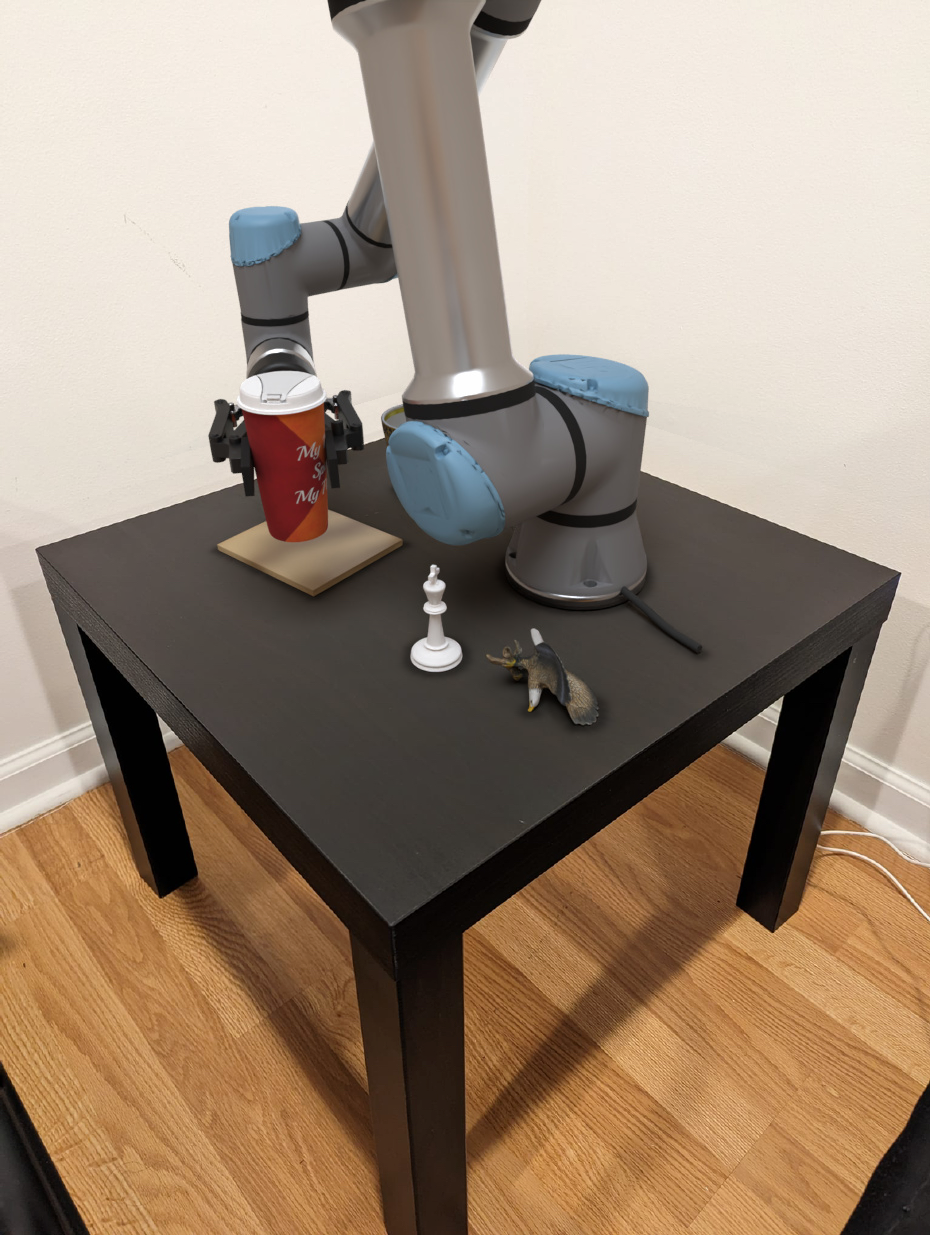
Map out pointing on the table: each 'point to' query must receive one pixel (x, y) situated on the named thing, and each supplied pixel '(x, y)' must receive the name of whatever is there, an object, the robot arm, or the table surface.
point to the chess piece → (435, 632)
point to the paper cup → (288, 451)
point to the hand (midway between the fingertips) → (291, 477)
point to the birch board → (312, 553)
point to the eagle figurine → (550, 679)
